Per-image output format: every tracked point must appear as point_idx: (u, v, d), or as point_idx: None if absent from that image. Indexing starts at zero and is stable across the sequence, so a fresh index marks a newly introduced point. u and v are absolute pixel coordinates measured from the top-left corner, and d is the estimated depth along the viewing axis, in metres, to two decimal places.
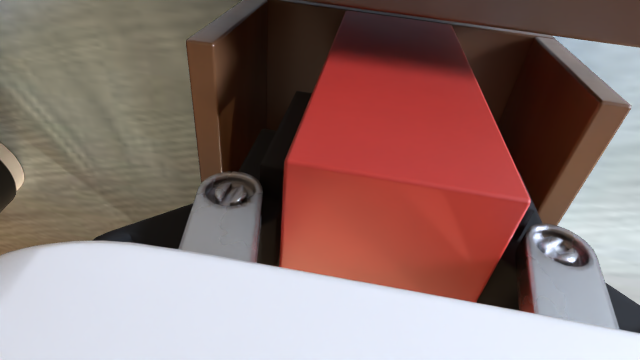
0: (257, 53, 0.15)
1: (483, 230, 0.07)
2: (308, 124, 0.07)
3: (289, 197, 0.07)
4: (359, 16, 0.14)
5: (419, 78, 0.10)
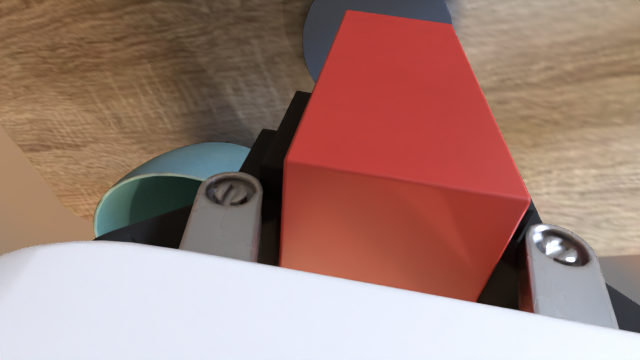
0: None
1: (483, 229, 0.07)
2: (308, 123, 0.07)
3: (289, 196, 0.07)
4: (359, 16, 0.14)
5: (419, 77, 0.10)
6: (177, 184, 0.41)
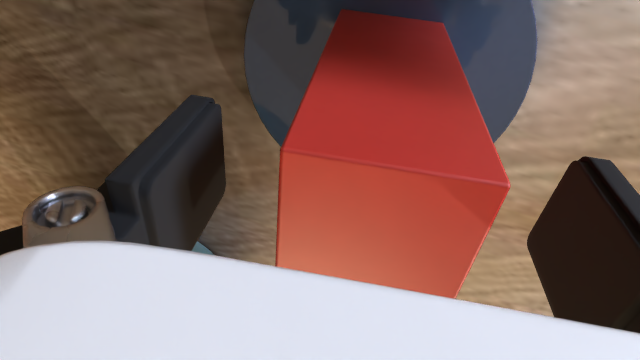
0: None
1: (467, 213, 0.07)
2: (303, 115, 0.08)
3: (285, 183, 0.07)
4: (353, 15, 0.14)
5: (410, 73, 0.10)
6: None
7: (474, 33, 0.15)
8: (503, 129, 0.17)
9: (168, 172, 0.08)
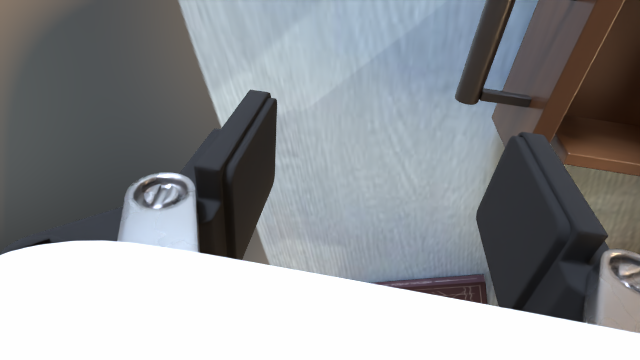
0: (571, 124, 0.26)
1: None
2: None
3: None
4: None
5: None
6: None
7: None
8: None
9: (243, 161, 0.08)
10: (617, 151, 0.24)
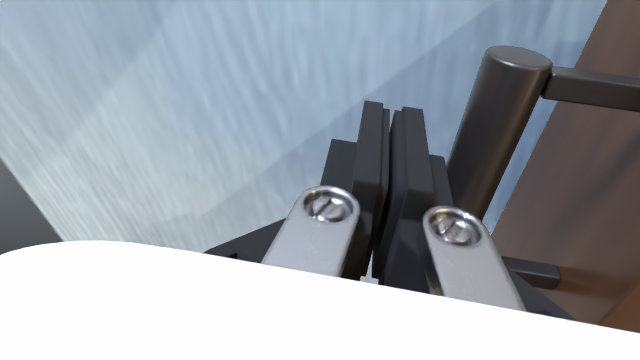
0: None
1: None
2: None
3: None
4: None
5: None
6: None
7: None
8: None
9: (386, 174, 0.09)
10: None
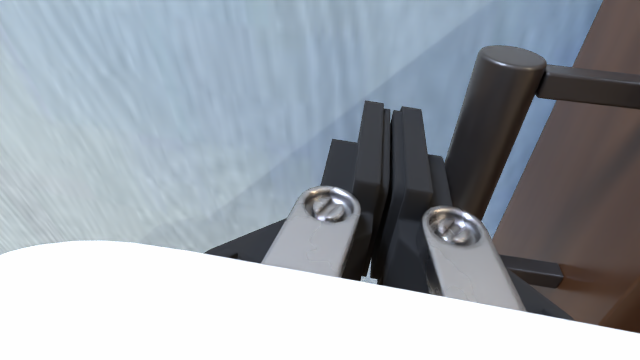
0: None
1: None
2: None
3: None
4: None
5: None
6: None
7: None
8: None
9: (387, 174, 0.08)
10: None
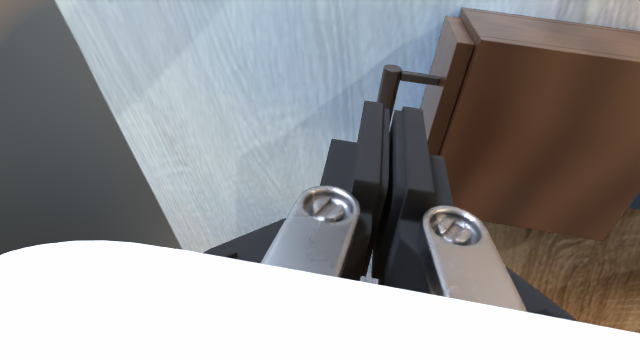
0: None
1: None
2: None
3: None
4: None
5: None
6: None
7: None
8: None
9: (386, 174, 0.09)
10: None
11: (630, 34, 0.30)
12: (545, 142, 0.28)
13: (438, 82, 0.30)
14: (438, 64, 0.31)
